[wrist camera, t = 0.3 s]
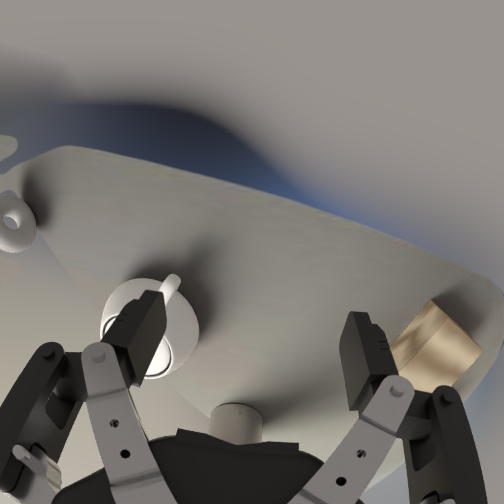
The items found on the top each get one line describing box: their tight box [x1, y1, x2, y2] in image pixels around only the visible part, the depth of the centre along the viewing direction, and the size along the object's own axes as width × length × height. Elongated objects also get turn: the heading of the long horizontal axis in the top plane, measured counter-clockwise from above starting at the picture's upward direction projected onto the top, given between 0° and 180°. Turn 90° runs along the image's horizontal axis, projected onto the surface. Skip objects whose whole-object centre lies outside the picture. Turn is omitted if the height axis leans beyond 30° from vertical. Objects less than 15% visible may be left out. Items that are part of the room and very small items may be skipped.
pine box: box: [390, 300, 483, 393], centre depth 36 cm, size 13×13×6 cm
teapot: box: [100, 274, 199, 379], centre depth 35 cm, size 22×14×11 cm, turn 147°
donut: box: [0, 195, 36, 253], centre depth 32 cm, size 10×4×10 cm, turn 35°
